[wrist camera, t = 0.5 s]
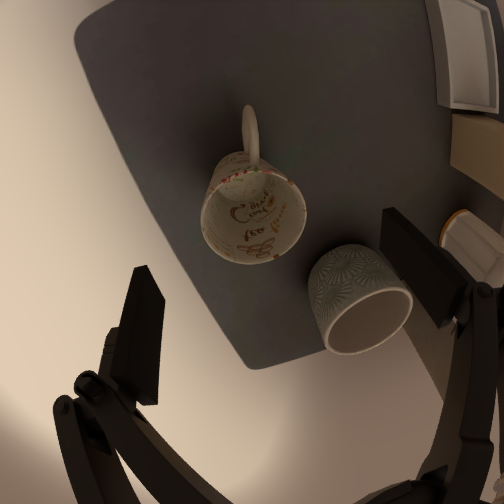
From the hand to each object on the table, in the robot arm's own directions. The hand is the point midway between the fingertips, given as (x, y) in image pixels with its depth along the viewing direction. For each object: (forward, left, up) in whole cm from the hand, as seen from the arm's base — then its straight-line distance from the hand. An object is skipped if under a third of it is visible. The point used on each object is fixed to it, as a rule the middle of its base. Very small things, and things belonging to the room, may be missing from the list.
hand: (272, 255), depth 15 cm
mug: (0, 0, -17) cm, 17 cm away
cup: (+18, +35, -17) cm, 43 cm away
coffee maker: (-9, +33, -17) cm, 38 cm away
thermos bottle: (+29, +25, -17) cm, 42 cm away
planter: (+19, +11, -17) cm, 28 cm away
